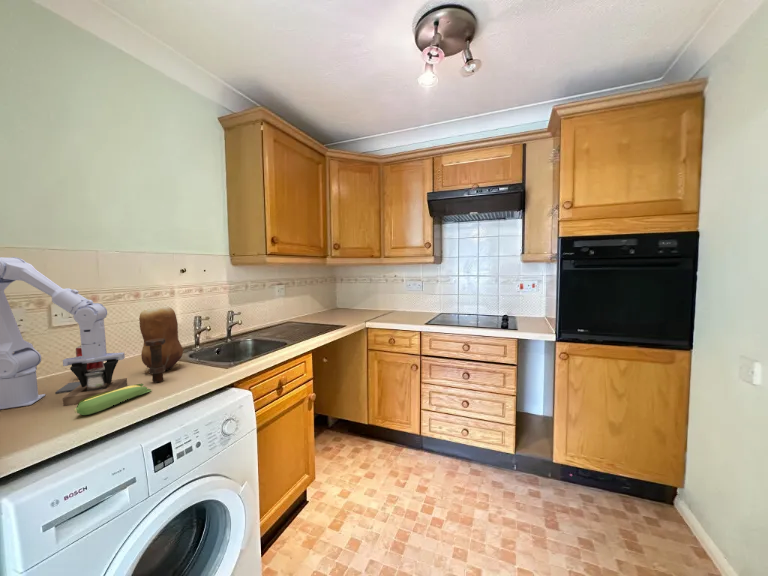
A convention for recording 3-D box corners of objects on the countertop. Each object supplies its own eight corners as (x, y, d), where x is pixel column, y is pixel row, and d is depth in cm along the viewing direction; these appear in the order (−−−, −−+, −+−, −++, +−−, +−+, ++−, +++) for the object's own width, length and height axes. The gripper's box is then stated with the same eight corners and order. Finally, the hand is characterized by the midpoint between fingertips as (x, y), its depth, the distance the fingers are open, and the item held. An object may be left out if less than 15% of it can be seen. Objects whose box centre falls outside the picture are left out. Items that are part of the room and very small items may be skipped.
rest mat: (55, 393, 102) (55, 392, 101) (69, 384, 110) (68, 382, 110) (99, 387, 106) (99, 386, 106) (109, 379, 114) (108, 377, 114)
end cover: (82, 399, 97) (80, 374, 96) (90, 393, 102) (88, 369, 101) (105, 396, 99) (103, 371, 98) (112, 390, 104) (110, 366, 103)
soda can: (105, 376, 117) (103, 345, 117) (78, 382, 112) (75, 349, 111) (103, 372, 122) (101, 342, 122) (77, 377, 117) (74, 345, 116)
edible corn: (70, 418, 85) (68, 402, 85) (147, 390, 104) (146, 377, 104) (82, 421, 83) (80, 404, 83) (158, 392, 102) (157, 378, 102)
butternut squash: (150, 366, 129) (146, 306, 127) (188, 362, 133) (184, 304, 131) (135, 377, 116) (130, 310, 114) (177, 373, 120) (173, 308, 118)
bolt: (165, 377, 115) (162, 337, 114) (170, 380, 112) (167, 339, 111) (146, 382, 110) (143, 340, 109) (150, 385, 107) (147, 342, 106)
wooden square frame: (63, 406, 92) (62, 397, 92) (81, 391, 103) (81, 384, 103) (115, 398, 97) (114, 390, 97) (127, 385, 108) (126, 378, 108)
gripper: (56, 348, 92) (60, 393, 93) (118, 342, 98) (121, 384, 99) (67, 343, 99) (71, 385, 100) (125, 337, 105) (128, 377, 106)
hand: (97, 384), depth 100 cm, fingers closed on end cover, 5 cm apart
